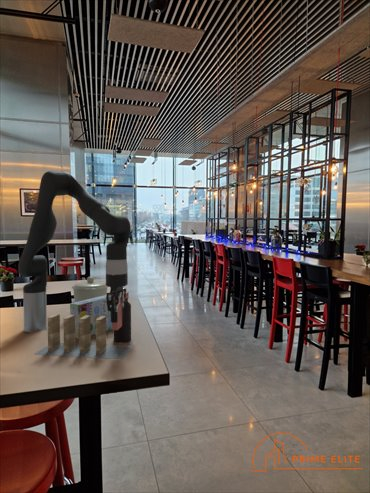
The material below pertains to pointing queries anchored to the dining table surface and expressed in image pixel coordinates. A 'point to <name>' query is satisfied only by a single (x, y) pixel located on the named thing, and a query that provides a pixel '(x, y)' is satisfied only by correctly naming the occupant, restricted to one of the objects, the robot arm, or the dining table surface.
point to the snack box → (91, 313)
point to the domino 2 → (69, 332)
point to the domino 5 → (118, 324)
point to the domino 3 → (85, 333)
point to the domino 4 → (100, 334)
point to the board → (89, 352)
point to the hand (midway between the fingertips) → (117, 319)
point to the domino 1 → (53, 332)
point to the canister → (89, 289)
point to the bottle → (124, 324)
